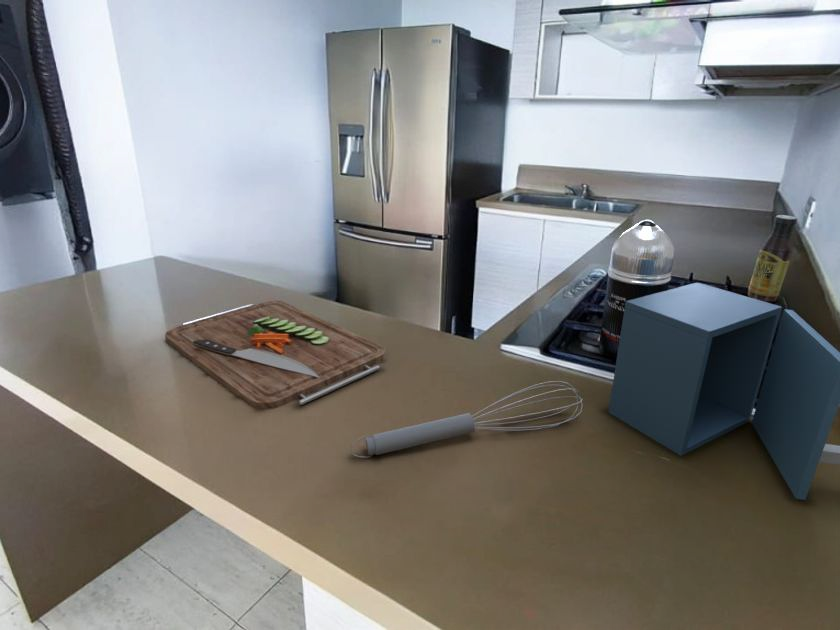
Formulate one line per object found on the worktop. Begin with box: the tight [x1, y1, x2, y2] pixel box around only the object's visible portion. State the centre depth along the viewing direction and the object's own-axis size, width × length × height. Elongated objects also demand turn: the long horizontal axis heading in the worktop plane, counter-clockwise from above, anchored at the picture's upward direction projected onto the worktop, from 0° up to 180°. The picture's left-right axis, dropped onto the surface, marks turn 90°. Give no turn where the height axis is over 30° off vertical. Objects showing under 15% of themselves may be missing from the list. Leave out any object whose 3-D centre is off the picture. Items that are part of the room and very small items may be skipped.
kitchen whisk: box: [350, 380, 584, 459], centre depth 69 cm, size 6×34×6 cm, turn 106°
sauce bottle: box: [747, 214, 798, 303], centre depth 117 cm, size 7×6×20 cm
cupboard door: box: [751, 308, 840, 501], centre depth 62 cm, size 7×16×18 cm, turn 165°
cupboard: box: [608, 281, 783, 457], centre depth 71 cm, size 12×16×18 cm
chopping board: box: [164, 300, 386, 410], centre depth 97 cm, size 45×27×3 cm, turn 46°
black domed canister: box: [598, 219, 676, 361], centre depth 90 cm, size 10×10×25 cm
